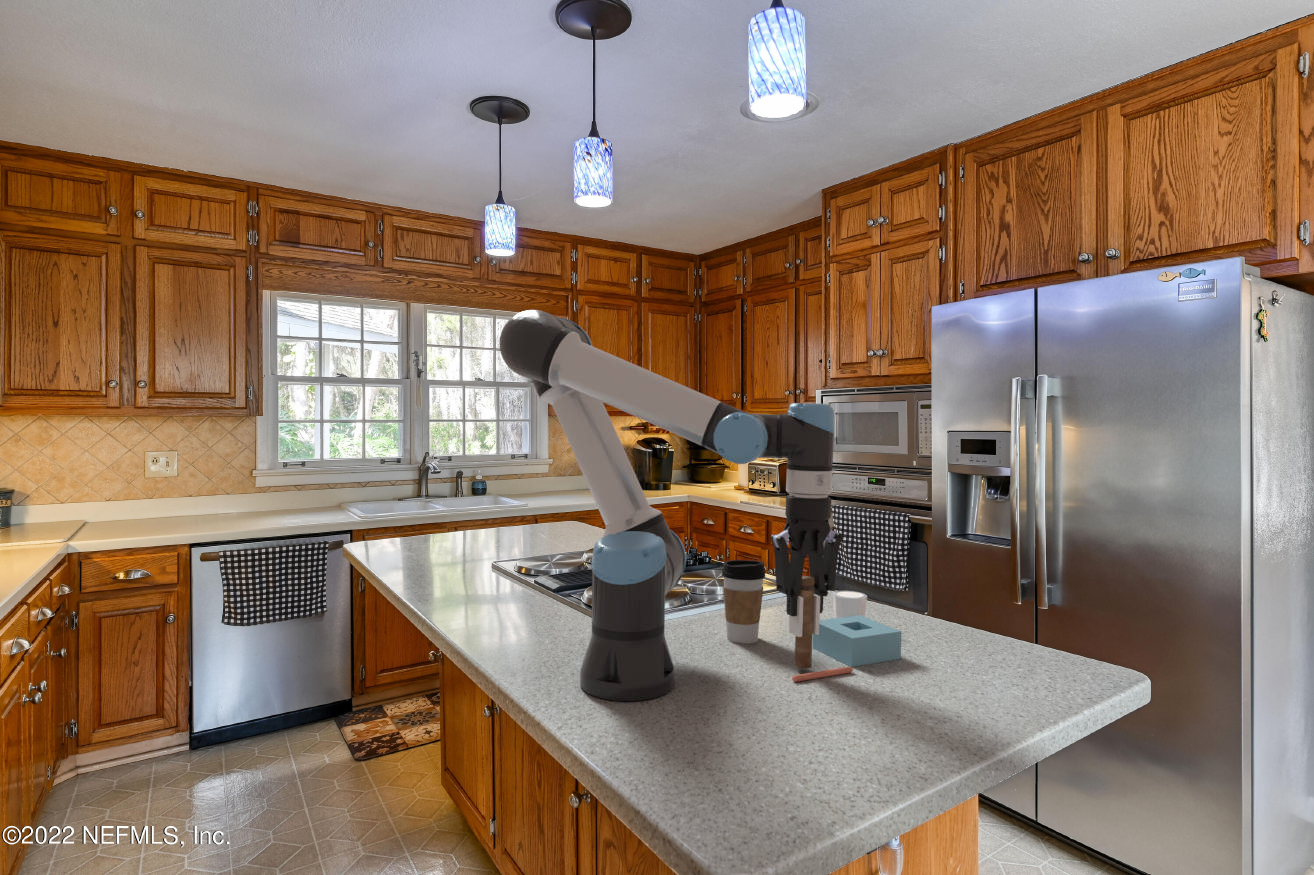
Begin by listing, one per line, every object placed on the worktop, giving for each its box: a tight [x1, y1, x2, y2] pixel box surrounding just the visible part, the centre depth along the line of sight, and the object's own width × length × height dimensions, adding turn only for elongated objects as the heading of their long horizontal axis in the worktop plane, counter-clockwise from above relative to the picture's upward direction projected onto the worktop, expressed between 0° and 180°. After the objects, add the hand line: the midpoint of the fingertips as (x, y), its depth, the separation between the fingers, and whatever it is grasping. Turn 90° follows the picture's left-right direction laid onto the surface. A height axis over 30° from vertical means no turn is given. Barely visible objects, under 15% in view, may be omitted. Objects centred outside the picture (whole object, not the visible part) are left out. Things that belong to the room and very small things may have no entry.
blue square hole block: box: [812, 615, 902, 668], centre depth 130 cm, size 11×11×5 cm
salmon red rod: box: [791, 666, 854, 683], centre depth 118 cm, size 12×1×1 cm, turn 114°
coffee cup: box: [721, 559, 766, 644], centre depth 138 cm, size 8×8×15 cm
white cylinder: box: [832, 590, 868, 618], centre depth 146 cm, size 7×7×7 cm
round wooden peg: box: [794, 575, 814, 670], centre depth 121 cm, size 3×3×15 cm
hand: (804, 633), depth 121 cm, fingers closed on round wooden peg, 3 cm apart
